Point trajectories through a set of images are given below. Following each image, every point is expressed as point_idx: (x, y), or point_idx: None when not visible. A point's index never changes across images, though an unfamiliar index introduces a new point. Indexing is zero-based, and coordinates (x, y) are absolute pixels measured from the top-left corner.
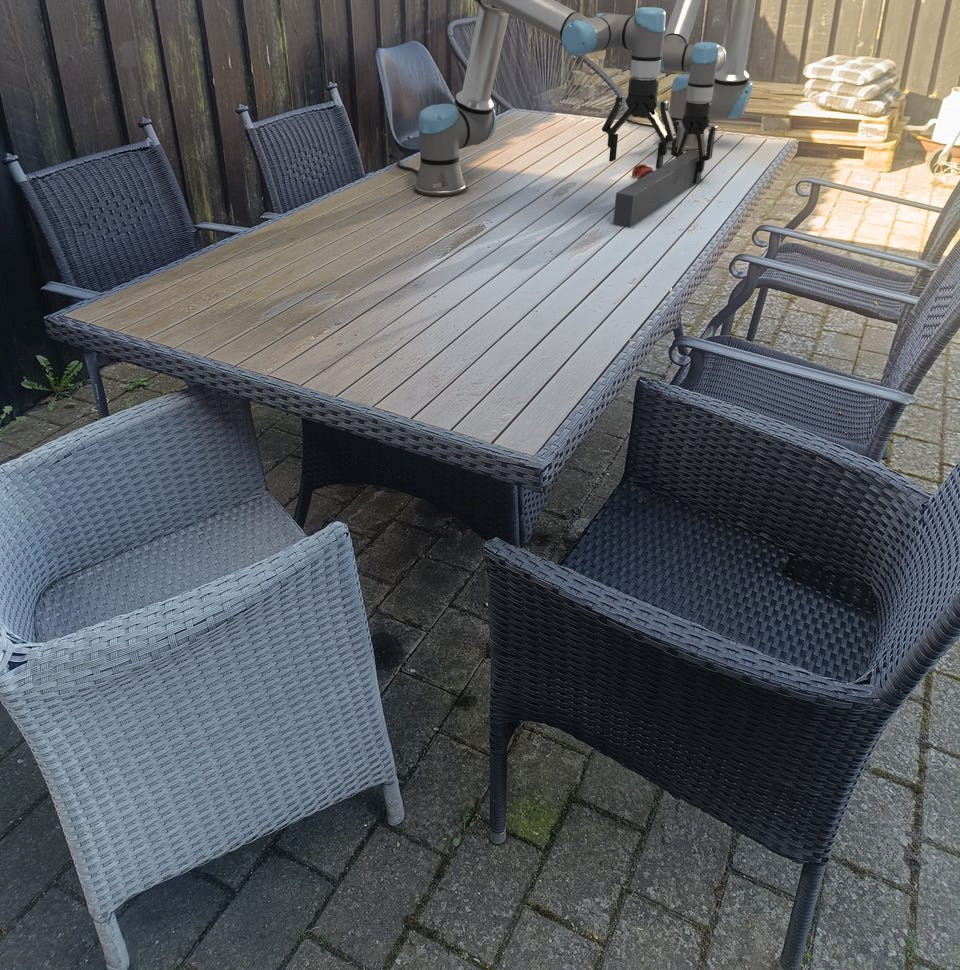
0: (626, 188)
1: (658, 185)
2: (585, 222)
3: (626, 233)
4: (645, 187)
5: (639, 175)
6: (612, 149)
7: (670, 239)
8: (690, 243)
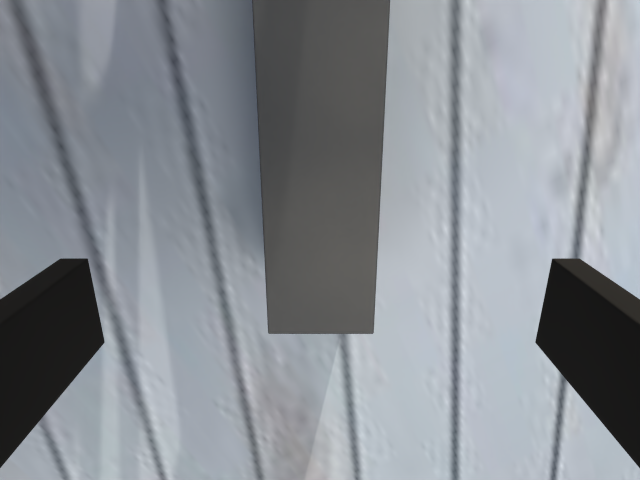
0: (278, 231)
1: None
2: (180, 300)
3: None
4: (374, 147)
5: None
6: (38, 419)
7: None
8: None
